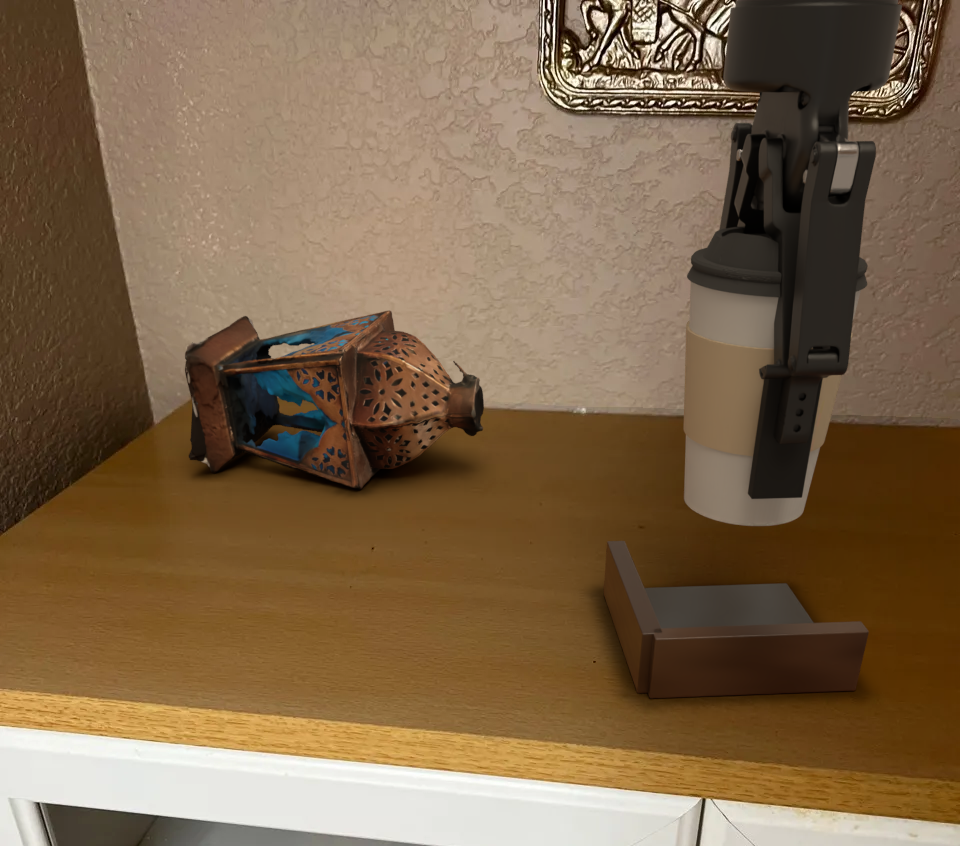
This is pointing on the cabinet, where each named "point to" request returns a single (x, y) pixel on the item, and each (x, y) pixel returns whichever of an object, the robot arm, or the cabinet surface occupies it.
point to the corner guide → (725, 638)
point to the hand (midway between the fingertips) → (749, 463)
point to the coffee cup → (737, 377)
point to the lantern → (325, 398)
